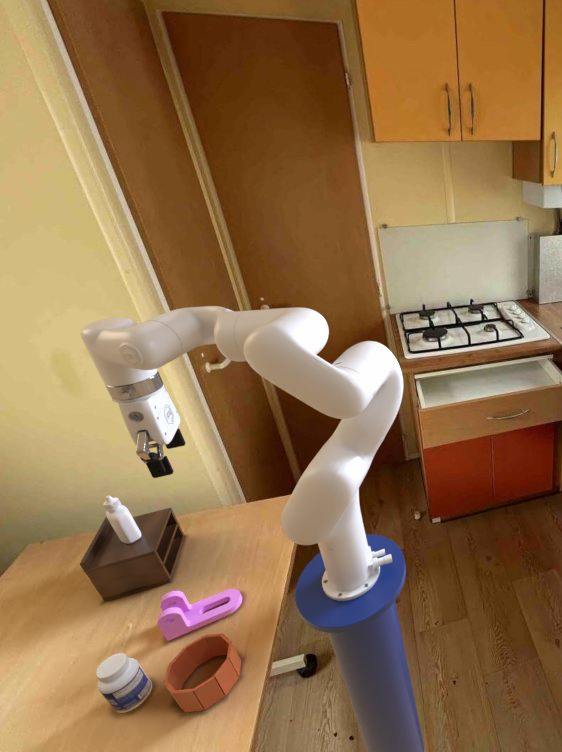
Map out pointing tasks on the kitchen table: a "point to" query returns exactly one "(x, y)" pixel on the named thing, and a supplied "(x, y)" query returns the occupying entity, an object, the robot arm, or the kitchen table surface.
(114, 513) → the eye dropper bottle
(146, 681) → the pill bottle
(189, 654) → the holder cup
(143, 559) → the shelf
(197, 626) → the bracket
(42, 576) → the kitchen table surface
